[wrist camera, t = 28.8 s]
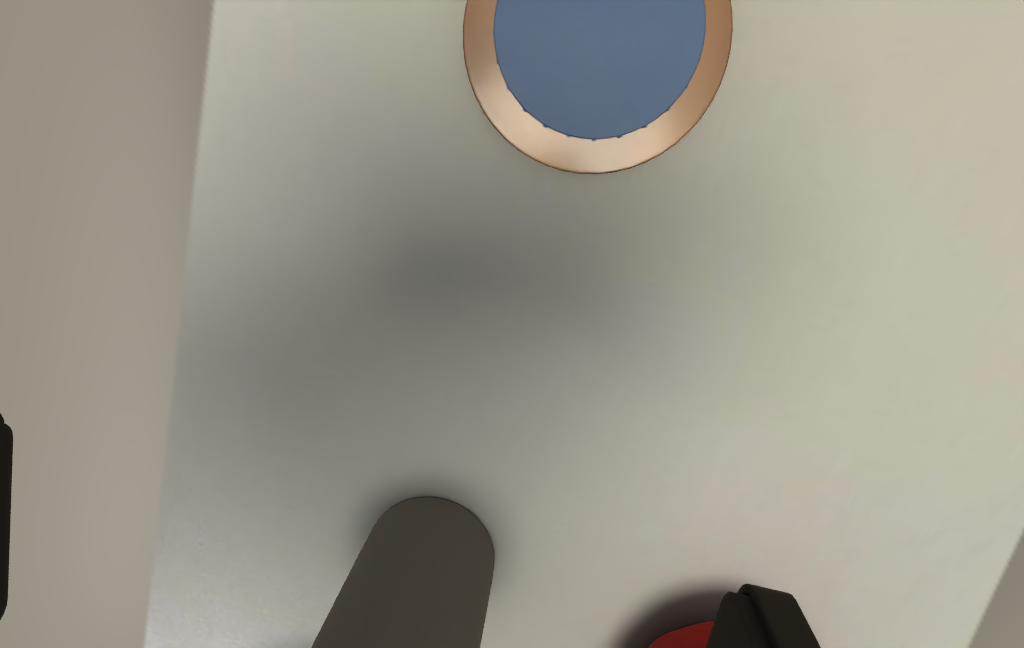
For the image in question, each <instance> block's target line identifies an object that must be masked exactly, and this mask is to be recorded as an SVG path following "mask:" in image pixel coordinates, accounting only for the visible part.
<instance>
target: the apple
mask: <svg viewBox="0 0 1024 648" xmlns="http://www.w3.org/2000/svg"><path fill="white" fill-rule="evenodd" d="M713 624H714V621H708V622H703V623H698V624H694V625H691V626H688V627H684V628H681V629H678V630H675V631H672V632H669V633H666V634H664V635H662V636H661V637H659V638H657V639H656V640H655V641H654V642H653V643H652V644H651V645H650V646H649V647H648V648H705V647H706V644H707V642H708V639H709V636H710V633H711V630H712V627H713Z"/></svg>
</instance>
